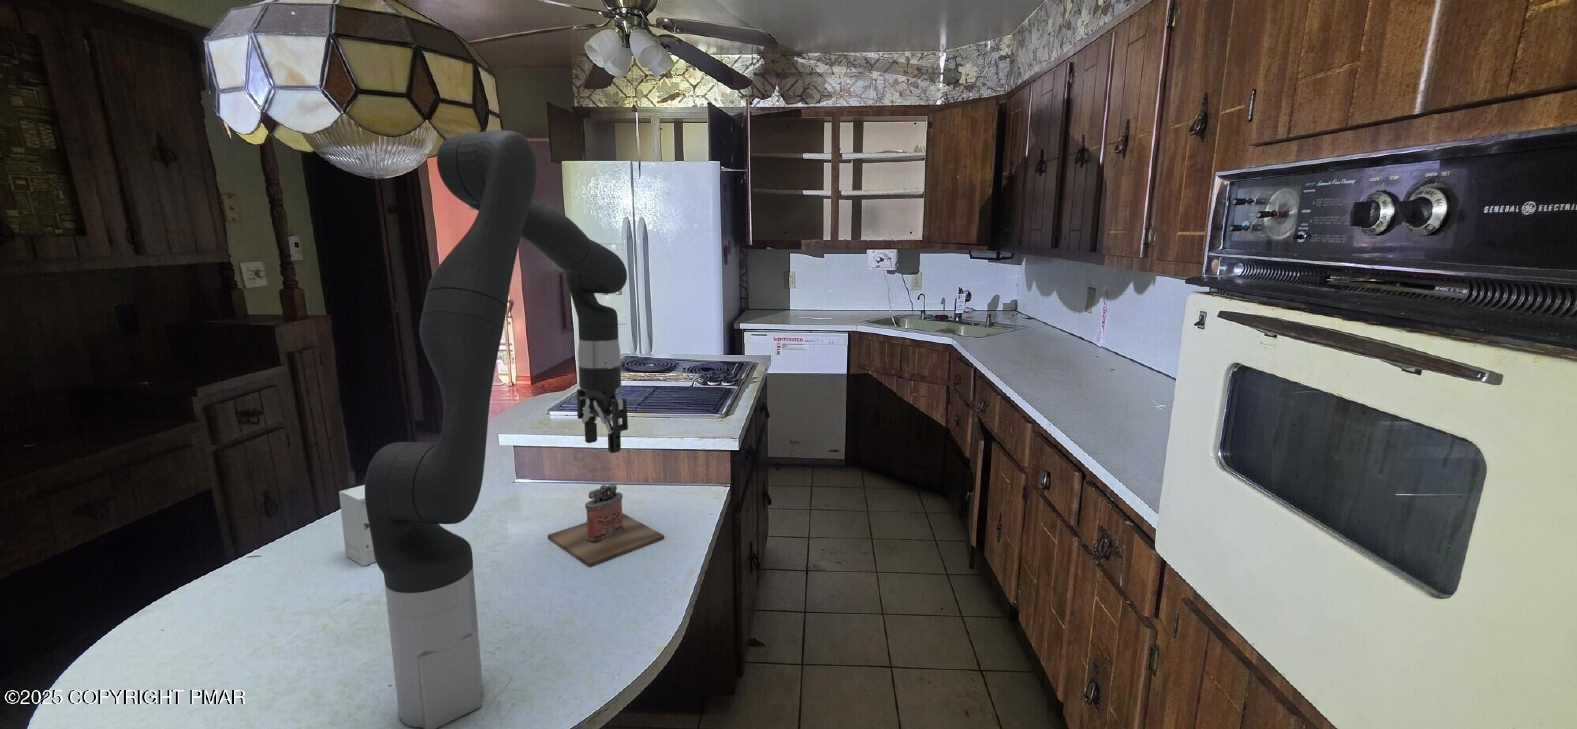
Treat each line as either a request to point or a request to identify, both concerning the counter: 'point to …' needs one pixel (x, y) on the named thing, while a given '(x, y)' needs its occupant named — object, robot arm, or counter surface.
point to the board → (605, 541)
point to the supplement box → (356, 526)
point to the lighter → (604, 513)
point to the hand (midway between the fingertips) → (602, 447)
